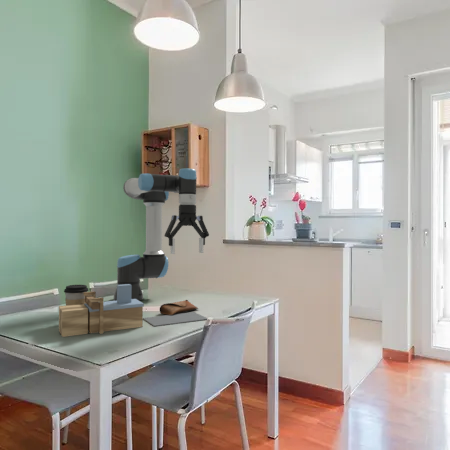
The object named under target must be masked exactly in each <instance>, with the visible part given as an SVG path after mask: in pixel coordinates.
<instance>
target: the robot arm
mask: <svg viewBox="0 0 450 450" xmlns="http://www.w3.org/2000/svg"><path fill="white" fill-rule="evenodd" d="M123 192H124V194H125V195H126V196H127V197H129V198H130V199H134V200H140V201H143V202H142V203H143V205H144V206H145V251H144V252H143V253H142V256H141V255H140V254H129V255H123V256H120V257H118V258H117V263H116V268H117V271H116V272H117V273H116V274H117V275H116V278H117V281H116V286H117V285H122V284H130V285H132V288H131V299H137V300H139V301H140V302H141V301H142V300H143V299H144V294H143V290H142V287H141V280H143V279H146V280H147V279H158V278H163V277H165V276H166V275H167V273H168V269H169V258H168V256H167V255H166V254H165V252H164V251H163V206H165V204H166V201H168V200H169V196H170V193H175V194H176V193H178V204H179V205H178V215H176V214H175V215H174V214H173V215H171V219H170V222H169V224H168V227H167V228H166V231H165V233H164V237H165V238H168V246H169V247H170V254H172V255H175V254H176V253H175V251H176V250H175V248H176V244H175V243H176V239H175V238H174V237H175V236H176V234H177V233H179V232H178V231H180V229H181V228H182V227H184V226H191V227H193V229H194V230H195V231H196V233H197V234H198V235H199V238H198V252H199V254H200V253H201V254H202V253H204V246H205V245H206V238H207V237H209V236H210V234H209V231H208V229H207V227H206V225H205V222H204V219H203V217H204V216H203V215H198V216H197V205H196V204H197V170H196V169H194V168H186V167H185V168H180V169H179V171H178V175H175V174H174V175H173V174H156V173H148V172H147V173H146V172H145V173H140V174H139V175H138V177H131V178H128V179H127V180H126V181H124V183H123ZM177 220H178V221H179V222H178V223H177V225H176V226H175V224H176V222H177ZM196 221H198V222H196ZM197 223H198V224H199V225H198V224H197ZM199 226H200V227H199ZM113 301H117V287H116V288H115V290H114V293H113Z"/></svg>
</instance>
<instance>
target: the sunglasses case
mask: <svg viewBox="0 0 450 450" xmlns="http://www.w3.org/2000/svg"><path fill="white" fill-rule="evenodd" d="M198 309H199V308H198V307H197V306H196V305H194V304H193V303H191V302H190V301H189V299H185V300H183V301H182V300H181V301H175V302H170V303H169V302H167V303H163V304H162V305H160V307H159V313H160V314H162V315H173V314H182V313H189V312H193V311H195V310H198Z"/></svg>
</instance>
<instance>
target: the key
mask: <svg viewBox="0 0 450 450" xmlns="http://www.w3.org/2000/svg"><path fill="white" fill-rule="evenodd" d="M90 298H94V297H92V295H88V296H85V303H86V304H87V305H88V306H89V307H90V308H91V309H92V310H95V309H99V302H90Z"/></svg>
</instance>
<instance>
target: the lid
mask: <svg viewBox="0 0 450 450" xmlns="http://www.w3.org/2000/svg"><path fill="white" fill-rule="evenodd" d="M116 288H117V301H114V300H107V301H103V311H104V310H114V309H124V308H134V307H144V306H145V305H144V302H142V301H141V300H140V301H139V300H137V299H131V288H132V285H130V284H122V285H117V284H116ZM84 305H85V306H86V307H87V309H88V311H89V312H95V311H99V309H95V310H92V309H91V308H90V307H89V306H88V305H87V304H86V303H84Z"/></svg>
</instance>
